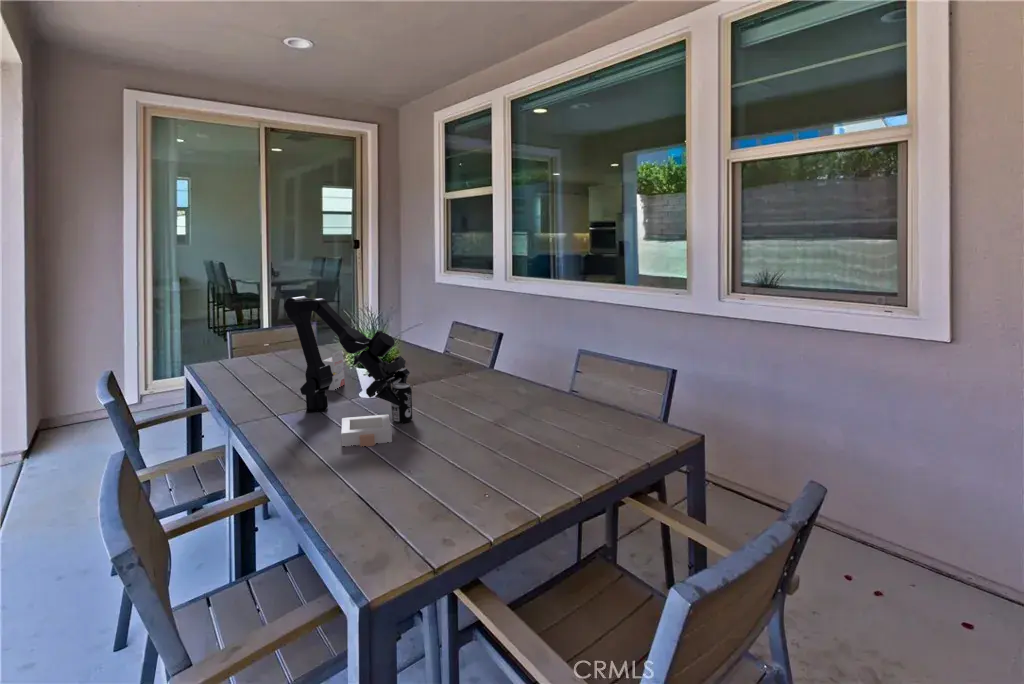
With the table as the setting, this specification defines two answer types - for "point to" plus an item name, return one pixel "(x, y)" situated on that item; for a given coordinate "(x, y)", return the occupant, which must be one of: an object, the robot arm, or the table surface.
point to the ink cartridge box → (336, 369)
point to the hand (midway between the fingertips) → (405, 401)
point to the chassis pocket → (366, 430)
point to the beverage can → (402, 403)
